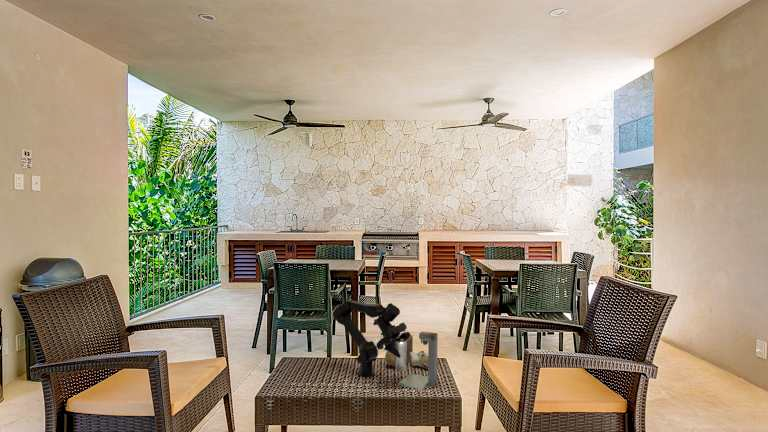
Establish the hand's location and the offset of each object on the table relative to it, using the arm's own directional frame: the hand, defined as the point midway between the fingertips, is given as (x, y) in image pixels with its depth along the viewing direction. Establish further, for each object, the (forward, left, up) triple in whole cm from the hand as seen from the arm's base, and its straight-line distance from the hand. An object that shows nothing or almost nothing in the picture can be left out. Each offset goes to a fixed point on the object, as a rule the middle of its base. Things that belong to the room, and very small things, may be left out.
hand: (403, 356), depth 206 cm
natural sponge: (-26, +12, -14) cm, 32 cm away
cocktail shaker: (-1, 0, -7) cm, 7 cm away
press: (+2, +7, -14) cm, 15 cm away
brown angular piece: (-31, +21, -14) cm, 40 cm away
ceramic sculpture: (-18, +25, -14) cm, 34 cm away
